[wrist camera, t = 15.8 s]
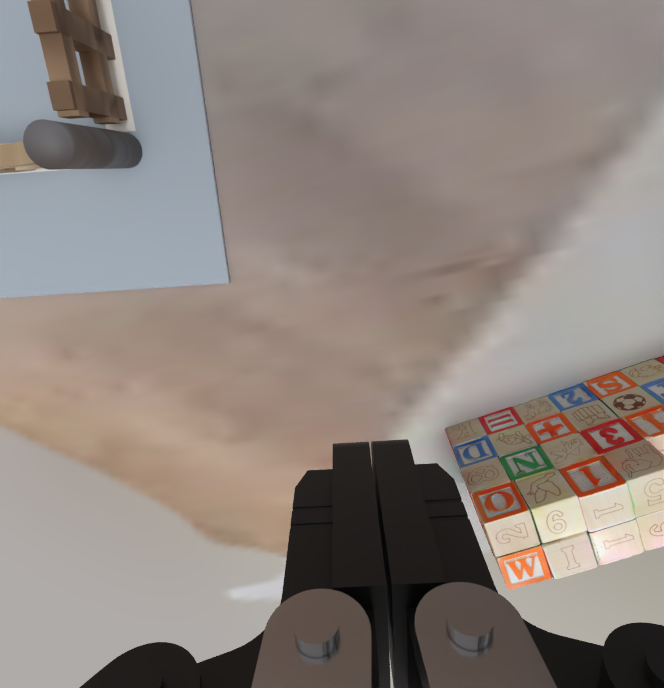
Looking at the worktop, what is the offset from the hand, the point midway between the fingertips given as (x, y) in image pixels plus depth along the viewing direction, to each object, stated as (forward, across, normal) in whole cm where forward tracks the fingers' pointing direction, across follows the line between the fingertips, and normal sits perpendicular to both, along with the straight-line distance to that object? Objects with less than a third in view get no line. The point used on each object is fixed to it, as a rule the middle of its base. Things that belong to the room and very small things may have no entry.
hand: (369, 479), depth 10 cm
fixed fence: (+29, +15, -13) cm, 35 cm away
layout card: (+29, +21, -9) cm, 37 cm away
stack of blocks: (+29, -19, +16) cm, 38 cm away
